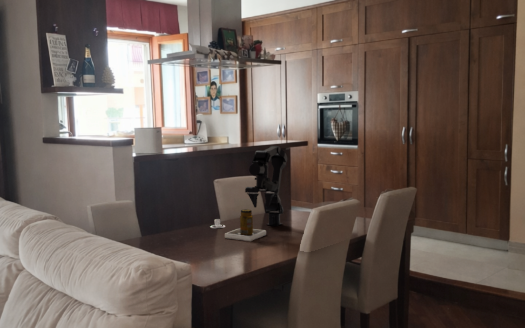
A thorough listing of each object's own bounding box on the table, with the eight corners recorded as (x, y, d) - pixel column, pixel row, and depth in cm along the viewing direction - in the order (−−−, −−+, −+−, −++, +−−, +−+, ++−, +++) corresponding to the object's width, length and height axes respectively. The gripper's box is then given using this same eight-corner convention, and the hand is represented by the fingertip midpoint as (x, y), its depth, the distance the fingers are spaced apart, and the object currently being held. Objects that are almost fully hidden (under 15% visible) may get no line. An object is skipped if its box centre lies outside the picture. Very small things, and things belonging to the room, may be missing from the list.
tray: (241, 231, 256) (241, 227, 256) (266, 234, 249) (266, 230, 249) (224, 238, 244) (224, 233, 244) (250, 241, 236) (250, 236, 236)
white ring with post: (222, 229, 265) (222, 221, 264) (207, 229, 266) (207, 221, 266) (227, 225, 273) (226, 218, 273) (212, 225, 275) (212, 218, 274)
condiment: (252, 232, 251) (252, 208, 250) (255, 236, 243) (255, 211, 242) (237, 233, 250) (237, 209, 249) (240, 237, 241) (239, 212, 240)
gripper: (261, 175, 242) (261, 208, 241) (286, 176, 255) (286, 207, 255) (244, 175, 249) (244, 207, 249) (269, 176, 263) (269, 206, 262)
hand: (261, 207), depth 253 cm, fingers open, 9 cm apart
